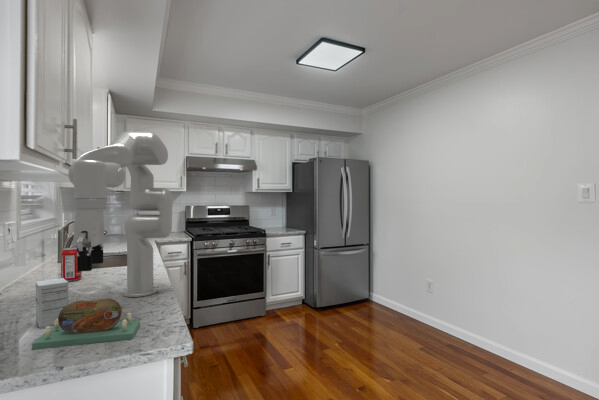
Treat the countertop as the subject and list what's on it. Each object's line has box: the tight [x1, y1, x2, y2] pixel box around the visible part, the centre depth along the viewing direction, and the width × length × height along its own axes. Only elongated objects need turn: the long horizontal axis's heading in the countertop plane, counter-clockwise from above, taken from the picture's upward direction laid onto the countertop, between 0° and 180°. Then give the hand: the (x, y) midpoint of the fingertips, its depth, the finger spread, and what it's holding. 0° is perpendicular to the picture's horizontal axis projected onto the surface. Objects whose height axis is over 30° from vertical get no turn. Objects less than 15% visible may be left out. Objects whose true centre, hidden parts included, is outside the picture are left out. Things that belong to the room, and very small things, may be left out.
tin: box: [58, 298, 123, 334], centre depth 91 cm, size 15×3×8 cm, turn 105°
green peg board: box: [31, 312, 141, 350], centre depth 90 cm, size 10×23×5 cm, turn 106°
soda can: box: [60, 247, 82, 283], centre depth 153 cm, size 8×8×15 cm
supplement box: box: [35, 277, 69, 329], centre depth 101 cm, size 7×7×13 cm
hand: (91, 267), depth 91 cm, fingers open, 9 cm apart
